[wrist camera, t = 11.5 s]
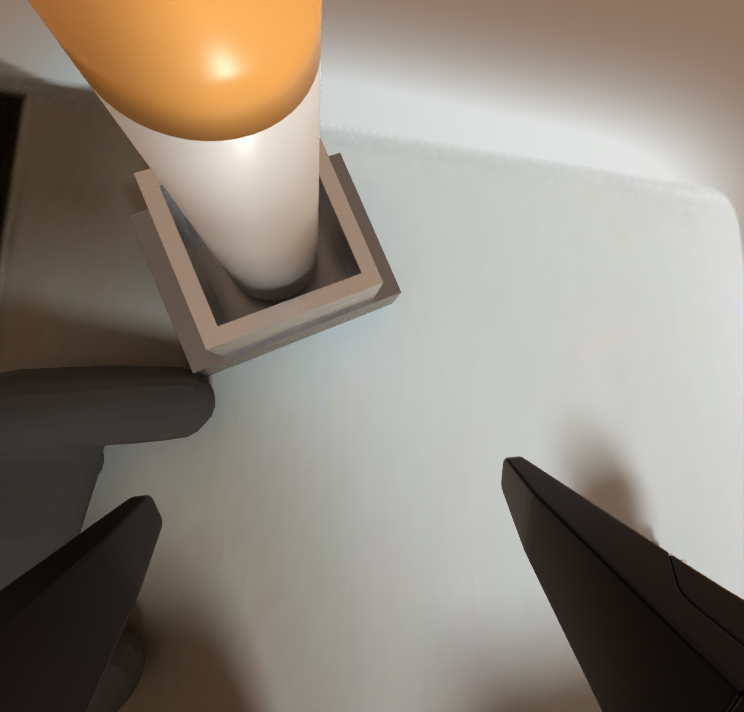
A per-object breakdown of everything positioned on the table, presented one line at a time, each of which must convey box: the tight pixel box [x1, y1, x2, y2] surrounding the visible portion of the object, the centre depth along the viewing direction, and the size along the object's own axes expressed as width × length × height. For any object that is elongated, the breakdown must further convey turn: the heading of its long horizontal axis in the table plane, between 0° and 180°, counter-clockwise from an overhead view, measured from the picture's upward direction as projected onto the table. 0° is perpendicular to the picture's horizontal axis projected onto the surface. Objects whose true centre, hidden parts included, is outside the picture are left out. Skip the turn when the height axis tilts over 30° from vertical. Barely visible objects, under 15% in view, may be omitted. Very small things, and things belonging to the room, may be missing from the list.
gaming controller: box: [0, 366, 215, 712], centre depth 16 cm, size 17×6×10 cm
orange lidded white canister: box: [28, 0, 322, 300], centre depth 12 cm, size 5×5×14 cm
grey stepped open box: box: [128, 139, 401, 376], centre depth 19 cm, size 12×9×6 cm
